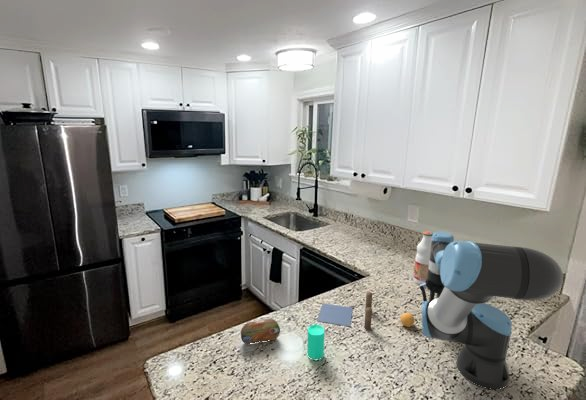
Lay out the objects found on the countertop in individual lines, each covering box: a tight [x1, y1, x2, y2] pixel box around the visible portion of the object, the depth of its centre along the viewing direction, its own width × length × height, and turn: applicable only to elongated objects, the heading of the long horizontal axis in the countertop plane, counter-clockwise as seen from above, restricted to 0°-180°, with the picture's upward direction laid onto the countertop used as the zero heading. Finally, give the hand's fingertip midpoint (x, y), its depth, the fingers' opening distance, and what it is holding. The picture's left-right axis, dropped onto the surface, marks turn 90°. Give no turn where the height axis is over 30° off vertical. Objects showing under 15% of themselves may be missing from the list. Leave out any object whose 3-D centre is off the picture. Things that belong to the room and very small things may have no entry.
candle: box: [306, 324, 326, 359], centre depth 109 cm, size 6×6×12 cm
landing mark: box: [316, 303, 353, 327], centre depth 135 cm, size 14×14×1 cm
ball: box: [400, 312, 415, 328], centre depth 127 cm, size 6×6×6 cm
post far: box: [364, 291, 373, 310], centre depth 137 cm, size 3×3×9 cm
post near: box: [363, 307, 373, 331], centre depth 125 cm, size 3×3×9 cm
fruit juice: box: [412, 230, 434, 285], centre depth 162 cm, size 9×9×28 cm
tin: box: [240, 318, 281, 346], centre depth 117 cm, size 15×3×8 cm, turn 105°
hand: (431, 323), depth 125 cm, fingers closed
